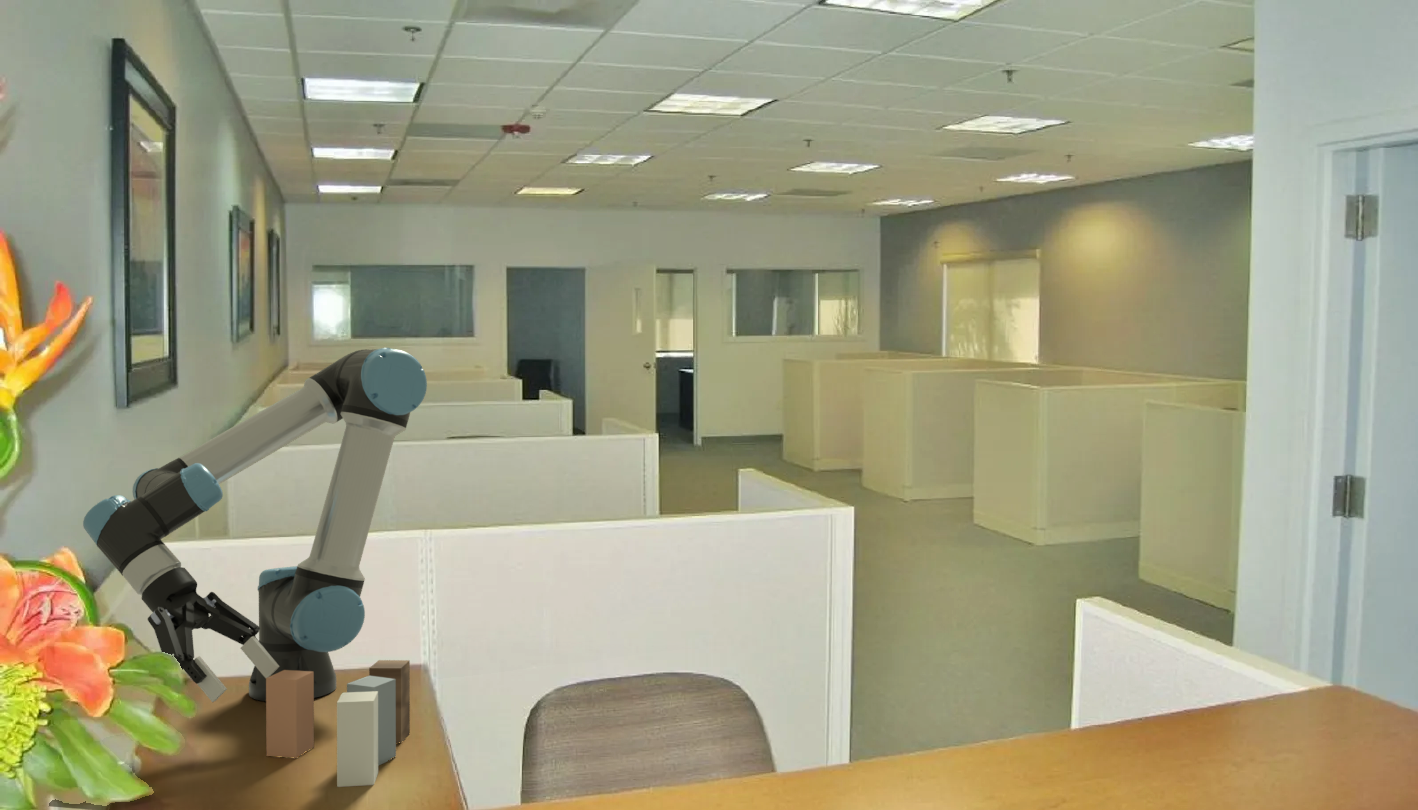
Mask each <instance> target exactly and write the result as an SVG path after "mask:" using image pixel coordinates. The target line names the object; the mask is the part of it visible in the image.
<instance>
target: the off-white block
mask: <svg viewBox="0 0 1418 810" xmlns="http://www.w3.org/2000/svg"><path fill="white" fill-rule="evenodd" d="M378 775H379V766H378V691H370V692H347V691H346V692H342V693H341V694H340V696H339V697H338V700H337V702H336V785H337V786H336V787H337V788H342V787H356V786H357V787H359V786H374V785H375V782H376V780H377V777H378Z"/></svg>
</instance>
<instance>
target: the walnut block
mask: <svg viewBox="0 0 1418 810" xmlns="http://www.w3.org/2000/svg"><path fill="white" fill-rule="evenodd" d="M410 663H411V662H410V660H409V659H408V660H407V659H401V660H399V659H397V660H395V659H393V660H391V659H389V660H388V659H387V660H386V659H379V660H377V661H376V662H375V663H374V664H373V665H371V666H370V667H369V668H368V670H369V671H368V672H369V675H368V676H376V677H384V678H392V679H396V743H399V742H400V743H401V742H402V741H403V742H404V741H405V740H406V739H407V738H408V737H409V735H410V734H411V731H410V730H411V729H410V728H411V725H410V720H411V719H410V718H411V717H410V716H411V713H410V712H411V711H410V710H411V709H410V707H411V703H410V701H411V699H410V698H411V697H410V694H411V693H410V692H411V691H410V690H411V689H410V688H411V687H410V685H411V684H410V683H411V682H410V678H411V675H410V668H411V667H410ZM409 733H410V734H409ZM406 737H407V738H406ZM405 738H406V739H405ZM403 742H402V743H403ZM402 743H401V744H402Z"/></svg>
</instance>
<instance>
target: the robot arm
mask: <svg viewBox="0 0 1418 810" xmlns="http://www.w3.org/2000/svg"><path fill="white" fill-rule="evenodd" d="M427 389H428V380H427V375H426V372H425V369H424V368H423V367H422V365H421V362H419V360H418V359H417V358H416V357H415V356H413V355H412V354H410V353H409V352H407V351H405V350H402V349H396V348H390V347H383V348H382V347H381V348H376V349H373V348H372V349H360V350H355V351H353V352H350V353H348V354H346V355H344V356H342V357H341V358H339V359H338V360H336V361H334V362H333V363H331V364H329V365H328V366H325V368H323V369H321V370H320V371H318V372H316V373H315V374H313V375H312V376H310V377H308V378H306V379H305V381H304V384H303V386H302V387H301V388H300V389H298V390H296V391H294V392H292V393H291V394H289V395H287V396H286V397H283V398H282V399H280V400H278V401H277V402H275V403H273V404H271V405H269V406H267V407H266V408H264V409H262V410H261V411H258V412H257V413H255V414H253V415H252V416H250V417H248V418H246V419H244V420H243V421H241V422H238V423H237V424H235V425H234V426H232V427H230V428H228V429H227V430H224V431H222V432H221V433H219V434H217V435H216V436H214V437H212V438H211V439H208V440H207V441H205V442H203V443H202V444H199V445H198V446H196V447H195V448H192V449H191V450H189V451H187V452H185V453H184V454H182V455H180V456H179V457H178V458H176V459H173V460H171V461H170V462H168V463H166V464H164V465H162V466H161V467H158V468H152V469H148V470H146V471H144V472H141V474H139V476H137V478H136V479H135V480H134V483H133V485H132V496H133V500H132V501H131V500H130V499H128V498H127V497H125V496H124V495H122V494H116V495H112V496H110V497H108V498H104V499H102V500H100V501H99V502H97V504H94V506H92V507H91V508H90V510H88V512H87V513H86V514H85V516H84V518H83V521H82V527H83V529H84V530H85V531H86V533H87V534H88V536H89V537H90V538H91V539H92V541H93V542H94V543H95V544H94V545H96V547H97V548H98V549H99V550H100V551H101V553H102V554H103V555H104V557H106V558H107V559H108V561H109V562H110V563H111V564H112V566H114V568H115V569H116V570H117V571H118V572H119V574H121V576H122V577H123V578H124V579H125V580H126V581H127V583H128V584H129V586H131V588H132V589H133V590H134V592H135V593H137V595H141V600H142V601H143V603H144V604H145V605H146V607H147V608H148V609H149V611H151V612H152V613H151V614H150V615H149V616H148V617H147V621H148V623H149V624H150V625H151V627H152V628H153V630H154V634H155V636H156V639H157V642H158V645H159V649H160V652H161V653H162V652H165V653H168V654H171V655H172V656H174V657H175V658H176V659H177V661H178V662H179V663H180V666H181V668H182V671H183V670H184V672H185V673H186V674H187V676H189V678H190V679H191V680H192V681H193V683H194V684H196V685H197V686H198V687H199V688H200V689H201V690H202V692H204V695H206V697H207V698H208V699H209V700H210V701H211V702H212V703H214V702H216V701H217V700H218V699H220V697H221V696H222V695H223V694H224V693H225V692H226V691H227V690H228V688H227V687H226V686H225V684H224V683H223V682H222V681H221V680H220V678H218V676H217V675H216V673H214V671H213V670H212V669H211V667H210V666H208V665H207V663H206V662H205V661H204V660H203V658H202V657H201V656H200V655H199V656H196V657H195V650H194V649H195V648H194V637H193V630H198V629H203V630H211V631H214V632H215V633H218V634H219V635H221V636H224V637H226V638H229V639H230V640H232V641H234V642H236V643H238V644H241V647H240V650H241V651H242V652H243V653H244V655H245V656H246V657H247V658H248V659H249V660H250V662H252V664H253V665H254V666H253V670H252V673H251V676H250V679H249V682H248V696H249V697H250V698H252V699H254V700H257V701H262V702H266V678H268V677H270V676H272V675H274V674H276V673H279V672H281V671H283V670H294V671H313V672H314V699H315V698H320V697H322V696H326V695H328V694H330V693H332V692H333V691H335V690H336V689H337V673H336V671H335V668H334V665H333V662H332V660H331V656H330V654H329V653H330V652H335V651H338V650H340V649H343V648H344V647H346V646H347V645H348V644H351V643H352V641H354V639H355V638H356V637H357V636H358V635H359V633H360V632H361V630H362V627H363V625H364V623H365V617H366V611H365V606H364V602H363V601H362V598H361V595H362V592H363V587H364V584H365V581H366V579H365V576H364V574H363V573H362V570H360V564H361V561H362V557H363V554H364V549H365V546H366V542H367V540H368V535H369V531H370V528H371V525H372V521H373V517H374V515H375V514H374V513H375V509H376V506H377V502H378V498H379V495H380V492H381V488H382V485H383V480H384V477H385V474H386V470H387V466H388V462H389V458H390V455H391V453H392V452H391V451H392V447H393V444H394V440H395V438H396V437H397V436H398V435H400V434H401V433H403V432H405V431H406V430H407V426H408V423H409V420H410V419H409V418H410V415H411V412H413V411H414V410H416V409H417V408H418V407H419V406H421V404H422V402H423V401H424V399H425V396H426V394H427V393H426V392H427ZM341 420H343V421H344V423H345V429H344V433H343V435H342V439H341V444H340V447H339V450H338V454H337V458H336V461H335V464H334V469H333V472H332V475H331V480H330V483H329V485H328V489H327V493H326V496H325V500H324V504H323V508H322V510H321V514H320V518H319V522H318V525H317V529H316V532H315V536H314V540H313V543H312V546H311V550H310V554H309V556H308V557H307V558H306V559H305V560H303V561H301V562H300V563H298V564H297V565H295V566H286V567H284V566H283V567H275V568H268V569H265V570H263V571H261V572H260V574H259V577H258V585H257V591H258V624H256V623H255V622H254V621H252V620H250V619H249V618H247V617H246V616H245V615H244V614H242V613H240V612H239V611H237V610H236V609H235V608H233V607H232V606H230V605H229V604H227V603H226V602H225V601H223V600H222V598H221V597H219V596H218V594H216V593H215V592H213V591H210V592H209V593H208V594H206V596H205V597H202V596H201V595H199V594H198V593H197V588H198V582H197V581H196V580H195V578H194V577H193V576H192V574H190V572H189V571H188V570H187V569H186V567H182V562H181V561H180V560H179V559H178V557H177V556H176V555H175V554H174V553H173V552H172V550H171V549H170V548H169V547H168V546H167V545H166V543H165V542H163V540H162V539H164V538H166V537H167V536H169V535H170V534H172V533H174V532H175V531H176V530H178V529H179V528H181V527H183V526H184V525H186V524H188V523H189V522H190V521H192V520H195V518H197V517H198V516H200V515H202V514H204V513H205V512H208V511H209V510H210V509H211V508H212V507H214V506H215V505H216V504H218V503H219V502H220V501H222V499H223V496H224V494H223V490H222V487H221V486H220V485H221V484H222V483H224V482H225V481H227V480H229V479H230V478H232V477H234V476H236V475H237V474H239V473H241V472H243V471H244V470H246V469H248V468H249V467H251V466H253V465H254V464H256V463H258V462H260V461H262V460H263V459H265V458H267V457H268V456H270V455H272V454H273V453H275V452H277V451H278V450H281V449H282V448H284V447H285V446H288V445H289V444H291V443H293V442H294V441H296V440H297V439H299V438H301V437H303V436H304V435H306V434H308V433H309V432H311V431H312V430H315V429H316V428H318V427H320V426H321V425H323V424H325V423H328V424H336V423H338V422H339V421H341ZM257 634H258V638H257V637H256V636H257Z"/></svg>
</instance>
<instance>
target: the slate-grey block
mask: <svg viewBox="0 0 1418 810" xmlns="http://www.w3.org/2000/svg"><path fill="white" fill-rule="evenodd" d="M370 691H378V767H379V766H381V765H383V764H385V763H387V762H389V761H391V760H392V759H391V758H393V757H395V756H396V757H397V744H396V679H392V678H384V677H376V676H369V675H367V676H365V677H362V678H359V679H356V680H352V681H351V682H347V683H346V692H370ZM396 757H395V758H396ZM390 759H391V760H390ZM393 759H394V758H393ZM388 760H389V761H388Z"/></svg>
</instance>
